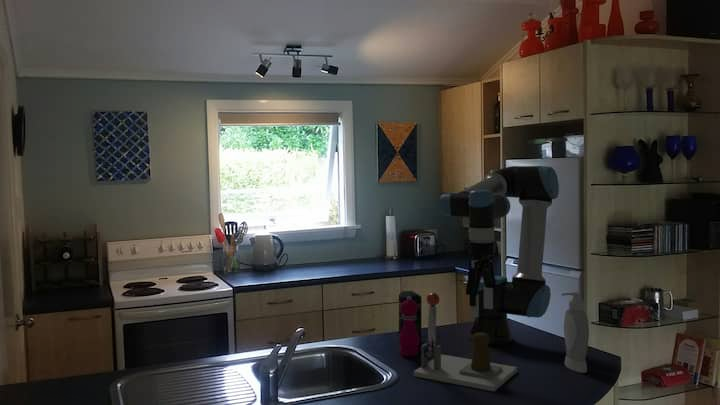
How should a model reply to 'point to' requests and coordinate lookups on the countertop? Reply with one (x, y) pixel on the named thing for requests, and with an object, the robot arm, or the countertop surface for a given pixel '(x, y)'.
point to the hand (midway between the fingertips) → (481, 312)
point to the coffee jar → (417, 299)
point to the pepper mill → (409, 328)
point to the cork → (480, 353)
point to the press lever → (431, 324)
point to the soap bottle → (576, 334)
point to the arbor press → (462, 371)
